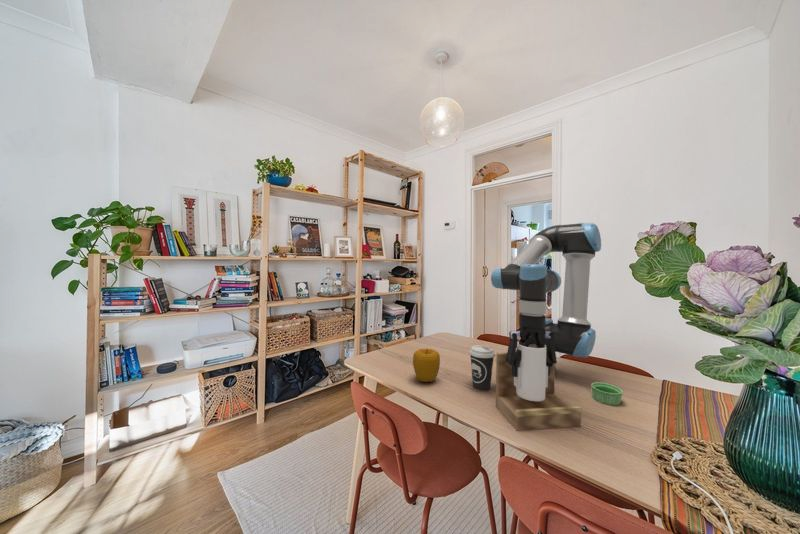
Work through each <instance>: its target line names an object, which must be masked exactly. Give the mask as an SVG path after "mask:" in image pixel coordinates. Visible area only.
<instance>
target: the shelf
mask: <svg viewBox="0 0 800 534" xmlns="http://www.w3.org/2000/svg"><path fill="white" fill-rule="evenodd" d="M546 352H547V351H546ZM506 356H507V352H496V359H495V360H496V369H495V370H496V371H495V372H496V373H495V407H496V408H497V410H498V411H499V412H500V413H501V414H502V415H503V417H505V419H506V420H507V421H508V422H509V423H510V424H511V426H512V427H513V428H514V429H515V431H527V430H528V431H531V430H542V429H544V430H545V429H559V428H573V427H582V407H581V406H579V405H574V406H573V405H571V404H569V402H567V401H566V400H564V399H563V398H561V397H560V396H558V395H557V394H556V393H555V388H556V387H555V382H556V381H555V380H556V375H555V367H556V364H553V366H552V367H550V376H548V387H546V388H545V400H543V401H529V400H526V399H523V398H521V397H519V396H518V395H517V393H516V386H514V376H512V365H509V364H508V363H507V362H506Z"/></svg>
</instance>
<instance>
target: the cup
mask: <svg viewBox="0 0 800 534" xmlns="http://www.w3.org/2000/svg"><path fill="white" fill-rule="evenodd" d="M524 343H525V342H524ZM517 348H518V350H522V356H521V362H520V364H519V367H521V389H518V388H517V387H516V393H517V395H518V396H519V397H521V398H523V399H526V400H529V401H543V400H545V388H546V345H545V344H544V348H537V346H536V344H531V345H529V346H528V347H525V346H522V345H520V344H519V341H517V347H516V349H517Z"/></svg>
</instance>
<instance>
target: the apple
mask: <svg viewBox="0 0 800 534" xmlns="http://www.w3.org/2000/svg"><path fill="white" fill-rule="evenodd" d="M412 356H413V357H412V365H413V370H414V373H415V377H416V378H417V380H418V381H420V382H423V383H425V382H426V383H430V382H434V381H435V380H436V379H437V376H438V375H439V371H440V365H441V356H440V353H439V352H438V350H436V349H433V348H420V349H418V350H416V351H414V352H413V355H412Z"/></svg>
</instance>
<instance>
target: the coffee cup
mask: <svg viewBox="0 0 800 534" xmlns="http://www.w3.org/2000/svg"><path fill="white" fill-rule="evenodd" d="M468 354H469V355H470V364H471V365H470V367H471V377H472V378H471V380H472V381H471V382H472V388H473V389H475V390H477V391H481V392H487V391H490V390H491V384H492V375H493V367H494V357H495V356H496V354H495V351H494V349H493V348H492V347H490V346H487V345H482V344H481V345H479V344H477V345H473V346H471V347H470V349H469V351H468Z"/></svg>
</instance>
